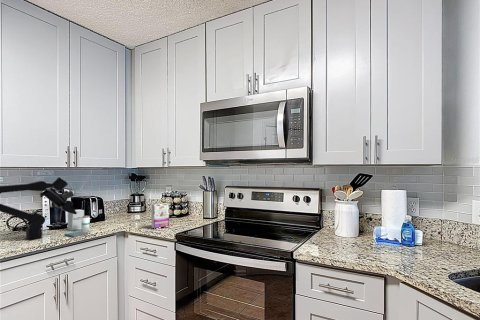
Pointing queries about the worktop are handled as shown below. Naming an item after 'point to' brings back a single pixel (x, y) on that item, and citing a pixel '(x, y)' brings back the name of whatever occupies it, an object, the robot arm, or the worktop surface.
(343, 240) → the worktop surface
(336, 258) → the worktop surface
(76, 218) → the supplement box
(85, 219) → the cartridge
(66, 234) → the mat
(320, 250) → the worktop surface
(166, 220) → the candy bar box
